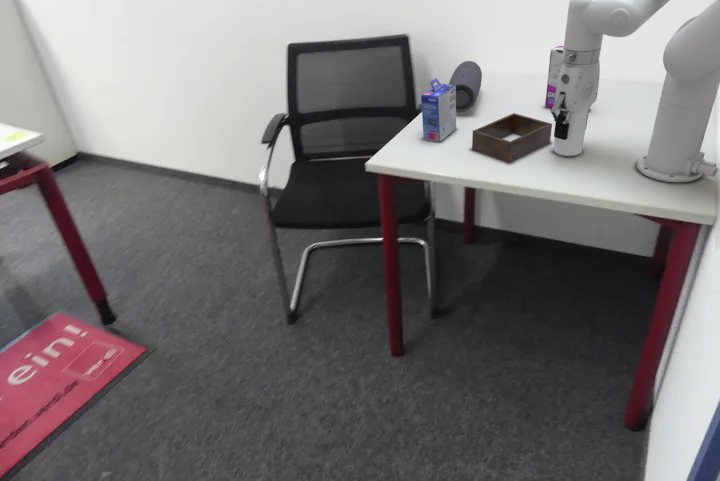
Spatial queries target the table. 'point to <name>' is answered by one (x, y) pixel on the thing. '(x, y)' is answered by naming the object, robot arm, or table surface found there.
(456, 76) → the bluetooth speaker
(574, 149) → the can
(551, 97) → the candy bar box
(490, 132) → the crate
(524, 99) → the table surface
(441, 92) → the ink cartridge box
